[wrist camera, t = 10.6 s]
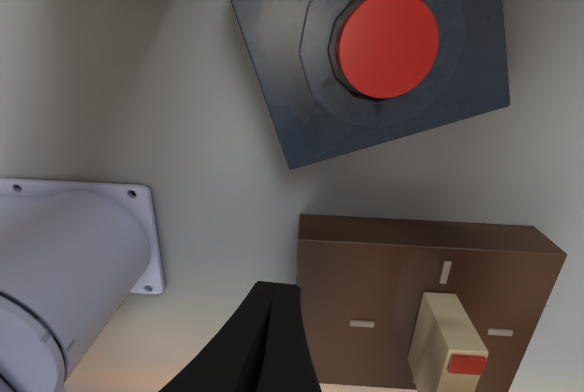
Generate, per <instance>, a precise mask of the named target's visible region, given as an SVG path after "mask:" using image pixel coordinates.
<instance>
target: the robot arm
mask: <svg viewBox="0 0 584 392" xmlns="http://www.w3.org/2000/svg"><path fill="white" fill-rule="evenodd" d="M18 185H19V186H20V187H21V189H22V190H21V189H20V188H19V187H18ZM131 190H132V191H134V192H135V193H136V196H134V195H133V194H131ZM148 286H150V287H152V288H149V287H148ZM164 289H165V283H164V277H163V270H162V263H161V257H160V250H159V243H158V237H157V230H156V223H155V217H154V210H153V203H152V197H151V192H150V190H149V188H148V187H146V186H144V185H134V184H114V183H95V182H75V181H55V180H35V179H15V178H0V392H66V390H65V388H64V382H65V381H66V380H67V378H68V377H69V375H70V374H71V373H72V371H73V370H74V368H75V367H76V366H77V364H78V363H79V361H80V360H81V359H82V357H83V356H84V355H85V353H86V352H87V350H88V349H89V348H90V346H91V345H92V343H93V342H94V341H95V339H96V338H97V337H98V335H99V334H100V332H101V331H102V330H103V328H104V327H105V325H106V324H107V323H108V321H109V320H110V319H111V317H112V316H113V314H114V313H115V312H116V310H117V309H118V307H119V306H120V305H121V303H122V302H123V300H124V299H125V298H126V296H127V295H128V294H129V293H140V294H156V295H157V294H161V293H162V292H163V291H164ZM158 392H322V391H321V388H320V385H319V382H318V379H317V376H316V373H315V369H314V366H313V362H312V359H311V355H310V352H309V348H308V343H307V339H306V334H305V330H304V325H303V319H302V311H301V288H300V287H299V286H298V285H292V284H283V283H273V282H264V281H258V282H257V283H255V285H254V286H253V288H252V289H251V291H250V292H249V293H248V295H247V296H246V298H245V299H244V300H243V302H242V303H241V305H240V306H239V307H238V308H237V310H236V311H235V312H234V314H233V315H232V316H231V317H230V318H229V320H228V321H227V322H226V323H225V325H224V326H223V327H222V328H221V329H220V331H219V332H218V333H217V334H216V335H215V336H214V337H213V338H212V339H211V341H210V342H209V343H208V344H207V345H206V346H205V347H204V348H203V349H202V350H201V351H200V353H199V354H198V355H197V356H196V357H195V358H194V359H193V360H192V361H191V362H190V363H189V364H188V365H187V366H186V367H185V368H184V369H183V370H182V371H181V372H179V373H178V374H177V375H176V376H175V377H174V378H173V379H172V380H171V381H170V382H169V383H168V384H166V385H165V386H164V387H163V388H162V389H161V390H160V391H158Z"/></svg>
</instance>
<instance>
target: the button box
mask: <svg viewBox="0 0 584 392" xmlns="http://www.w3.org/2000/svg"><path fill="white" fill-rule="evenodd" d="M364 1H366V0H231V3H232V6H233V9H234V12H235V14H236V17H237V20H238V23H239V26H240V29H241V32H242V35H243V37H244V40H245V43H246V46H247V49H248V52H249V55H250V58H251V60H252V63H253V66H254V69H255V72H256V75H257V78H258V80H259V83H260V86H261V89H262V92H263V95H264V98H265V101H266V103H267V106H268V109H269V112H270V115H271V118H272V121H273V123H274V126H275V129H276V132H277V135H278V138H279V141H280V144H281V146H282V149H283V152H284V155H285V158H286V161H287V164H288V166H289V169H290V170H291V169H295V168H298V167H302V166H305V165H309V164H312V163H315V162H319V161H322V160H326V159H329V158H333V157H336V156H339V155H343V154H346V153H350V152H353V151H356V150H360V149H363V148H367V147H370V146H374V145H377V144H380V143H384V142H387V141H391V140H394V139H398V138H401V137H404V136H408V135H411V134H415V133H418V132H422V131H425V130H428V129H432V128H435V127H439V126H442V125H446V124H449V123H452V122H456V121H459V120H463V119H466V118H469V117H473V116H476V115H480V114H483V113H487V112H490V111H493V110H497V109H500V108H504V107H507V106H509V105H510V96H509V83H508V69H507V56H506V43H505V30H504V16H503V3H502V0H421V1H422V2H423V3H424V4H425V5H426V6H427V7H428V8H429V9H430V11H431V12H432V14H433V16H434V18H435V21H436V23H437V27H438V34H439V45H438V51H437V55H436V58H435V61H434V63H433V66H432V67H431V69H430V71H429V73H428V74H427V75H426V77H425V78H424V79H423V80H422V81H421V82H420V83H419V84H418V85H417V86H416V87H415V88H413V89H412V90H410V91H408V92H407V93H405V94H402V95H400V96H397V97H393V98H374V97H370V96H367V95H365V94H363V93H361V92H360V91H358V90H357V89H355V88H354V87H353V86H352V85H351V84H350V82H349V81H348V80H347V79H346V78H345V77H344V75H343V74H342V72H341V70H340V68H339V65H338V62H337V57H336V43H337V37H338V34H339V31H340V29H341V26H342V24H343V23H344V21H345V19H346V18H347V17H348V15H349V14H350V13H351V12H352V11H353V10H354V9H355V8H356V7H358V6H359V5H360V4H362V3H363V2H364Z"/></svg>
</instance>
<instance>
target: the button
mask: <svg viewBox="0 0 584 392" xmlns="http://www.w3.org/2000/svg"><path fill="white" fill-rule="evenodd" d="M438 45H439V34H438V27H437V23H436V21H435V18H434V16H433V14H432V12H431V11H430V9H429V8H428V7H427V6H426V5H425V4H424V3H423V2H422V1H421V0H366V1H364V2H363V3H362V4H360V5H359V6H358V7H356V8H355V9H354V10H353V11H352V12H351V13H350V14H349V15H348V17H347V18H346V19H345V21H344V23H343V24H342V26H341V29H340V31H339V34H338V37H337V43H336V57H337V62H338V65H339V68H340V70H341V72H342V74H343V75H344V77H345V78H346V79H347V80H348V81H349V82H350V84H351V85H352V86H353V87H354V88H355V89H357V90H358V91H360V92H361V93H363V94H365V95H367V96H370V97H374V98H393V97H397V96H400V95H402V94H405V93H407V92H408V91H410V90H412V89H413V88H415V87H416V86H417V85H418V84H419V83H420V82H421V81H422V80H423V79H424V78H425V77H426V75H427V74H428V73H429V71H430V69H431V67H432V66H433V63H434V61H435V58H436V55H437V51H438Z"/></svg>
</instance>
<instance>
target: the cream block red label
mask: <svg viewBox="0 0 584 392" xmlns="http://www.w3.org/2000/svg"><path fill="white" fill-rule="evenodd" d="M488 354H489V353H488V350H487V349H486V347H485V345H484V343H483V342H482V340H481V338H480V336H479V334H478V333H477V331H476V329H475V327H474V326H473V324H472V322H471V320H470V319H469V317H468V315H467V313H466V311H465V310H464V308H463V306H462V304H461V303H460V301H459V299H458V297H457V296H456V294H449V293H432V292H423V296H422V300H421V305H420V309H419V313H418V317H417V321H416V325H415V330H414V334H413V338H412V342H411V346H410V351H409V355H408V361H409V364H410V368H411V371H412V374H413V378H414V381H415V384H416V388H417V391H418V392H474V391H475V389H476V386H477V383H478V380H479V378H480V375H482V372H483V370H484V367H485V364H486V362H487V356H488Z"/></svg>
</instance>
